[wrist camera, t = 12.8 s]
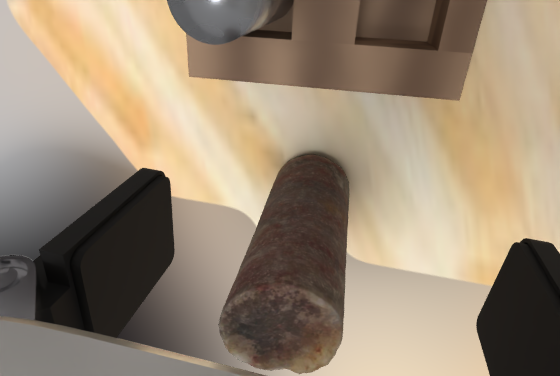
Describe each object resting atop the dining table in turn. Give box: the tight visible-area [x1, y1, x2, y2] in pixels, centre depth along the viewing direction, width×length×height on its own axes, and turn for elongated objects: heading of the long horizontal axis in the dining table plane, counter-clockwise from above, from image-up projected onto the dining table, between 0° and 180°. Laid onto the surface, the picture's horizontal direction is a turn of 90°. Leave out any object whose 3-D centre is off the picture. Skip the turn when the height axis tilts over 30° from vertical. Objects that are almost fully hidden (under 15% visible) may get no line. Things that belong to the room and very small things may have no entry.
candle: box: [218, 155, 349, 374], centre depth 30 cm, size 8×7×20 cm
